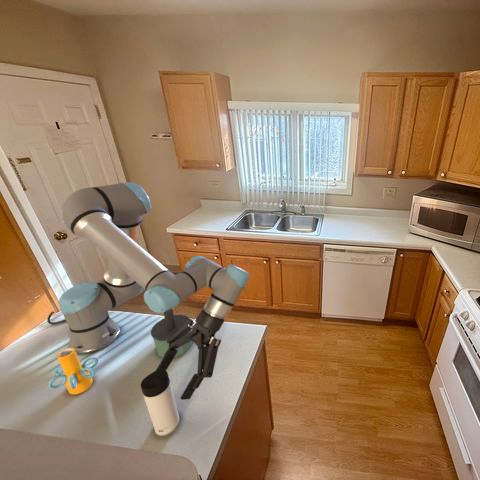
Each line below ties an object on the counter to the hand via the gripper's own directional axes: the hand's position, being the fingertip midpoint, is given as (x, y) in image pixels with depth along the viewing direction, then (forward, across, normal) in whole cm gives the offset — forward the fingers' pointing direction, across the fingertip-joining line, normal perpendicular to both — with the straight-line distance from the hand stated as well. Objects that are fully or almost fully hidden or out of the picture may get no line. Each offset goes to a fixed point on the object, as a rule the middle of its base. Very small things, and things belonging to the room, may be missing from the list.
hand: (172, 384), depth 71 cm
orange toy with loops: (+20, +35, 0) cm, 40 cm away
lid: (-6, +28, -12) cm, 31 cm away
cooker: (+1, +28, -19) cm, 34 cm away
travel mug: (+12, 0, -8) cm, 15 cm away
